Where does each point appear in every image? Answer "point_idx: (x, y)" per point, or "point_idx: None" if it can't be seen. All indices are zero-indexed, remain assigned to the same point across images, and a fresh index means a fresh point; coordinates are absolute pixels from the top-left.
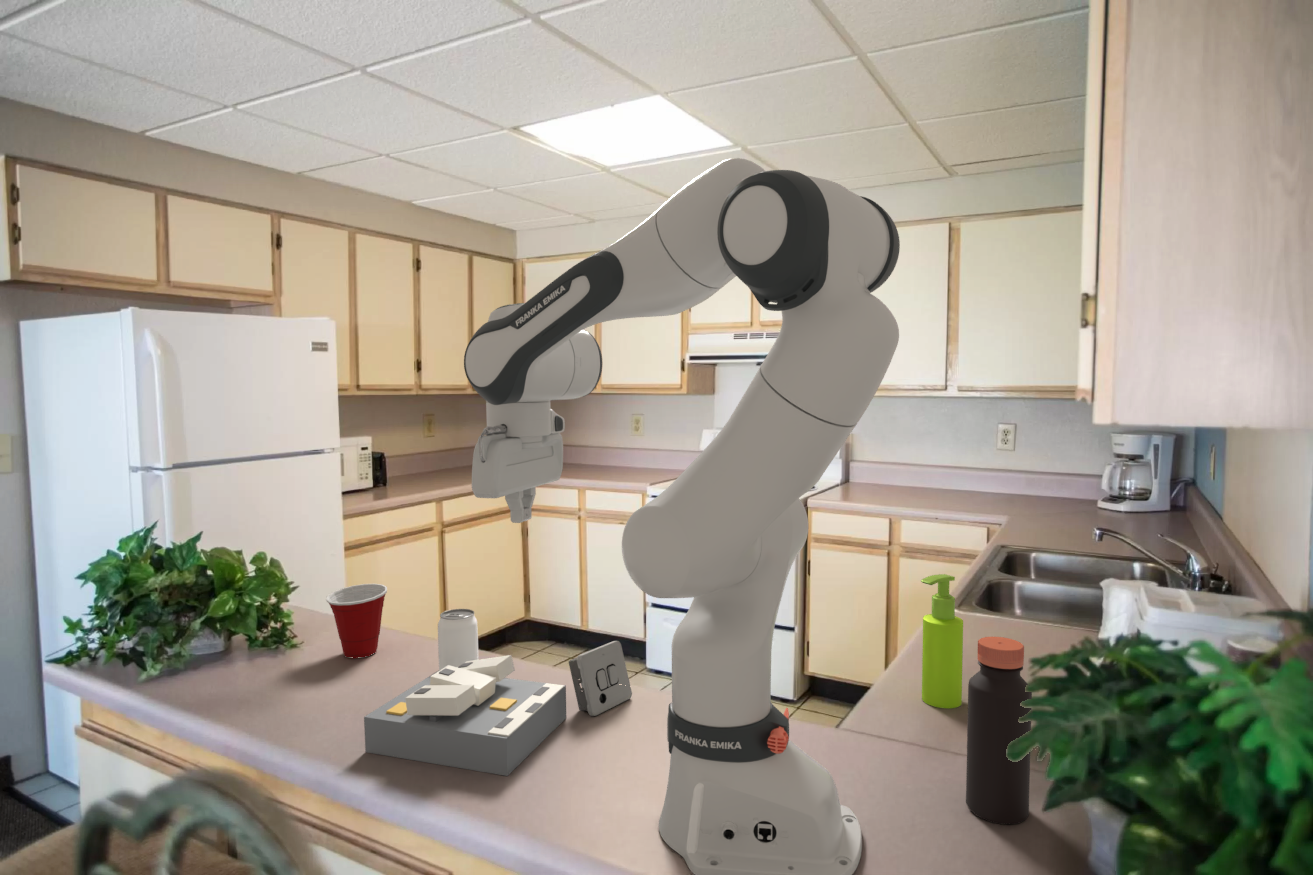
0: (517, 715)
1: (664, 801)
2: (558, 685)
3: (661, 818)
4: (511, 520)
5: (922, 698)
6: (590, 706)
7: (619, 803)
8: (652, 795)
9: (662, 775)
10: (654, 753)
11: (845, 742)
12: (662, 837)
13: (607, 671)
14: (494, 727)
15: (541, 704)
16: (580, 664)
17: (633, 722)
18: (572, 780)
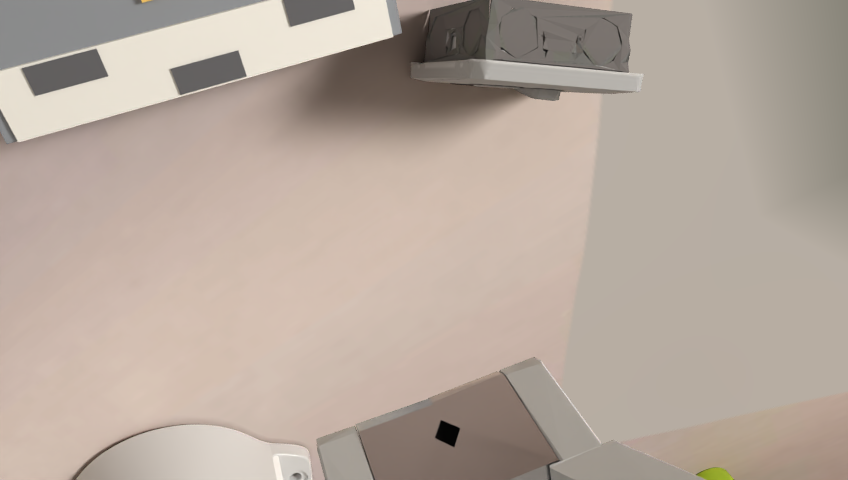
0: (134, 68)
1: (123, 476)
2: (383, 21)
3: (103, 468)
4: (318, 450)
5: (699, 476)
6: (416, 75)
7: (121, 359)
8: (187, 381)
9: (261, 351)
10: (328, 290)
11: None
12: (80, 474)
13: (528, 88)
14: (20, 69)
15: (239, 78)
16: (464, 71)
17: (431, 170)
18: (125, 239)
